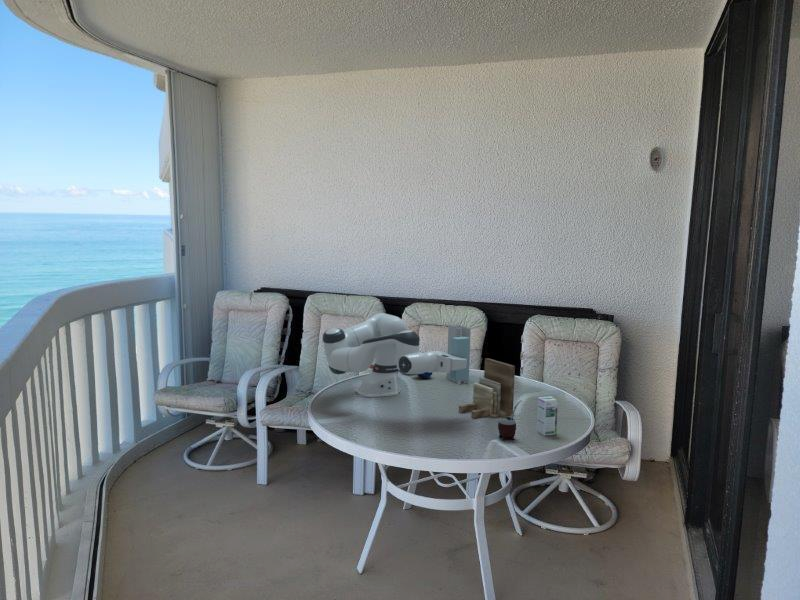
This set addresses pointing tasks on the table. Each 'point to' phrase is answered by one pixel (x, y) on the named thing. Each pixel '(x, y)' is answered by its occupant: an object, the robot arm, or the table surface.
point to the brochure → (452, 333)
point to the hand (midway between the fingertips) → (461, 358)
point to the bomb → (425, 374)
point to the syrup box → (547, 415)
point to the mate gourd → (507, 426)
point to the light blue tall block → (460, 349)
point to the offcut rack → (506, 377)
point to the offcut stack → (487, 395)
